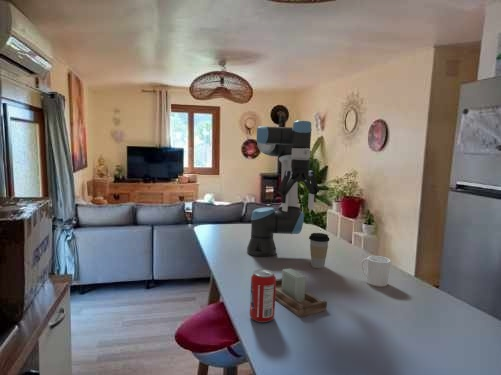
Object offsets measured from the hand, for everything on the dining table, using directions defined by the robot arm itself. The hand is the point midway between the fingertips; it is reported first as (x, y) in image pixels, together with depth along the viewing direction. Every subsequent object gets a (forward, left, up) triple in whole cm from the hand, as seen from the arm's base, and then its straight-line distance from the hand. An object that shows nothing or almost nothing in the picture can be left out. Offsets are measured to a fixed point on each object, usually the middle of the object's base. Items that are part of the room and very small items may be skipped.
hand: (297, 210), depth 144 cm
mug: (+20, +26, -29) cm, 44 cm away
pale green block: (+18, -15, -28) cm, 36 cm away
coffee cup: (-6, +18, -29) cm, 35 cm away
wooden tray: (+18, -15, -29) cm, 37 cm away
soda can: (+25, -32, -29) cm, 50 cm away
